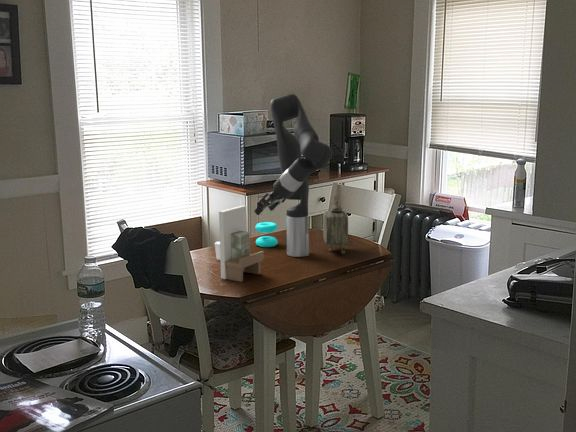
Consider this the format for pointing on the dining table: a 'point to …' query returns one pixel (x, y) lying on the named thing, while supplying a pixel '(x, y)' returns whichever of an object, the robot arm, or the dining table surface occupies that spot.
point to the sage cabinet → (240, 244)
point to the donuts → (266, 240)
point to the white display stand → (231, 268)
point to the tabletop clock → (335, 227)
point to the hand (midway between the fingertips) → (263, 211)
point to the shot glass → (217, 249)
